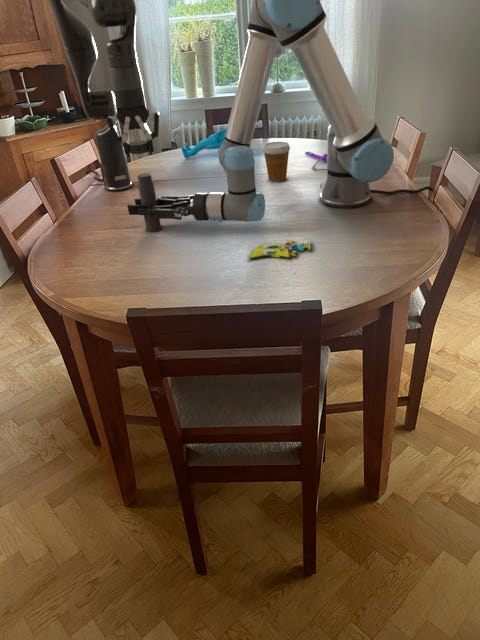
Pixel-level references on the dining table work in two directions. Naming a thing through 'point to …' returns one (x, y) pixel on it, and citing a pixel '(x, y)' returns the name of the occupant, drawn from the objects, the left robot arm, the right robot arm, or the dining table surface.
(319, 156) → the musical instrument
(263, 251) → the toy
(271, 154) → the disposable coffee cup
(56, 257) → the dining table surface
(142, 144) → the lid
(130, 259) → the dining table surface
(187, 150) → the toy
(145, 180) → the jar
